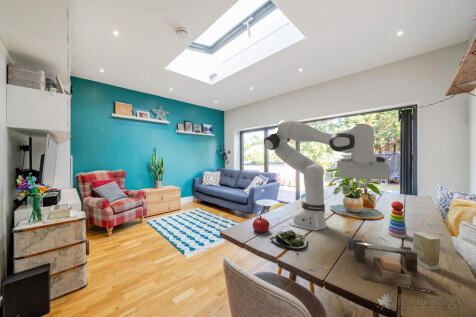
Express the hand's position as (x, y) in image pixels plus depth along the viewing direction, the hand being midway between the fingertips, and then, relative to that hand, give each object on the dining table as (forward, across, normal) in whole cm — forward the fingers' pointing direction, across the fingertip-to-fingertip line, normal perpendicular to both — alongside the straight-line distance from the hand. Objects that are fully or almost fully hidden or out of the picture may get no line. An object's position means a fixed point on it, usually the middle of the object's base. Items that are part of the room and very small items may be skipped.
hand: (362, 188), depth 82 cm
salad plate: (+30, -33, -4) cm, 45 cm away
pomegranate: (+29, -50, +4) cm, 58 cm away
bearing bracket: (+29, +4, -16) cm, 33 cm away
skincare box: (+29, +20, -5) cm, 36 cm away
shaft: (+24, +2, -11) cm, 27 cm away
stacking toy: (+29, +22, +24) cm, 44 cm away
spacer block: (+28, +4, -18) cm, 34 cm away
